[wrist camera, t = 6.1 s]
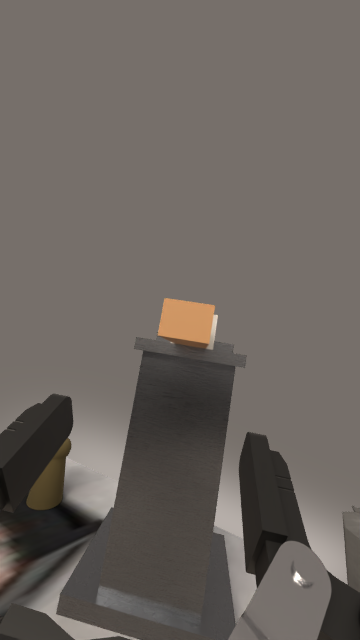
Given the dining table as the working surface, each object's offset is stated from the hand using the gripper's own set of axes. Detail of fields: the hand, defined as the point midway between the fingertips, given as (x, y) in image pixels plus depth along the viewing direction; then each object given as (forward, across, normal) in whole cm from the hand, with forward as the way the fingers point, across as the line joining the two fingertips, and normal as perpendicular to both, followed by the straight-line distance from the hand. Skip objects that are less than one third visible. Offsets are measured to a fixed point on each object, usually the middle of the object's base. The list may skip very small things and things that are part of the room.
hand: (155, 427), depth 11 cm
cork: (+18, -23, -42) cm, 51 cm away
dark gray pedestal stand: (+10, 0, -38) cm, 39 cm away
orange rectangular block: (+19, 0, -6) cm, 20 cm away
